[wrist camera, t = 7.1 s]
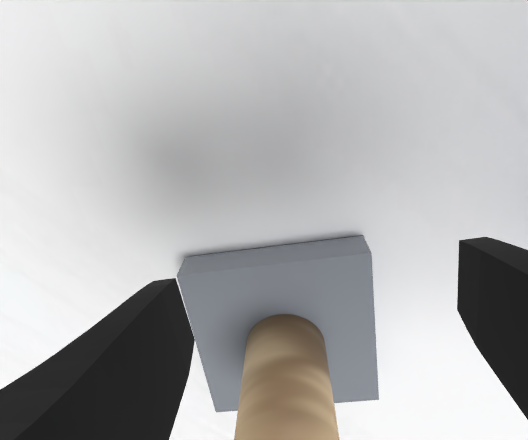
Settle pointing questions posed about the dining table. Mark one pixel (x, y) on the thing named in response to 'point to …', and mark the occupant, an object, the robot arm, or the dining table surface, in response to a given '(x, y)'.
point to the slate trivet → (284, 310)
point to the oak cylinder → (286, 383)
